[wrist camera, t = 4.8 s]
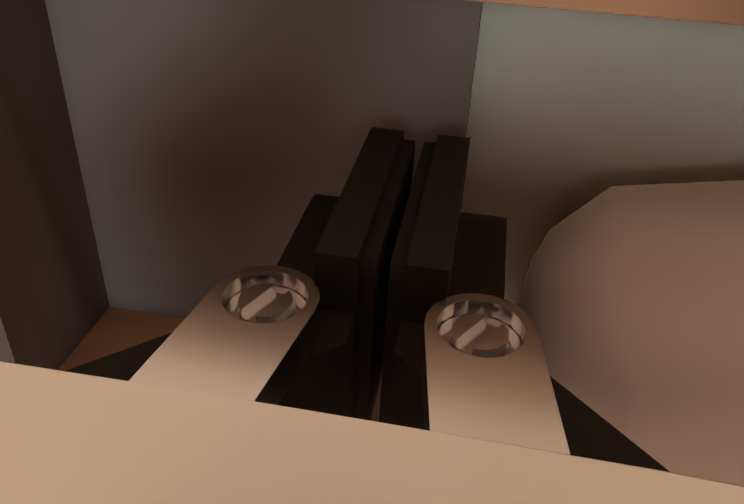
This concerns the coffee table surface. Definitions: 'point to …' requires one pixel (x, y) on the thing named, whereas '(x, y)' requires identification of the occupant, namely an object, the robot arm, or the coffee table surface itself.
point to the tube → (651, 318)
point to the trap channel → (204, 142)
